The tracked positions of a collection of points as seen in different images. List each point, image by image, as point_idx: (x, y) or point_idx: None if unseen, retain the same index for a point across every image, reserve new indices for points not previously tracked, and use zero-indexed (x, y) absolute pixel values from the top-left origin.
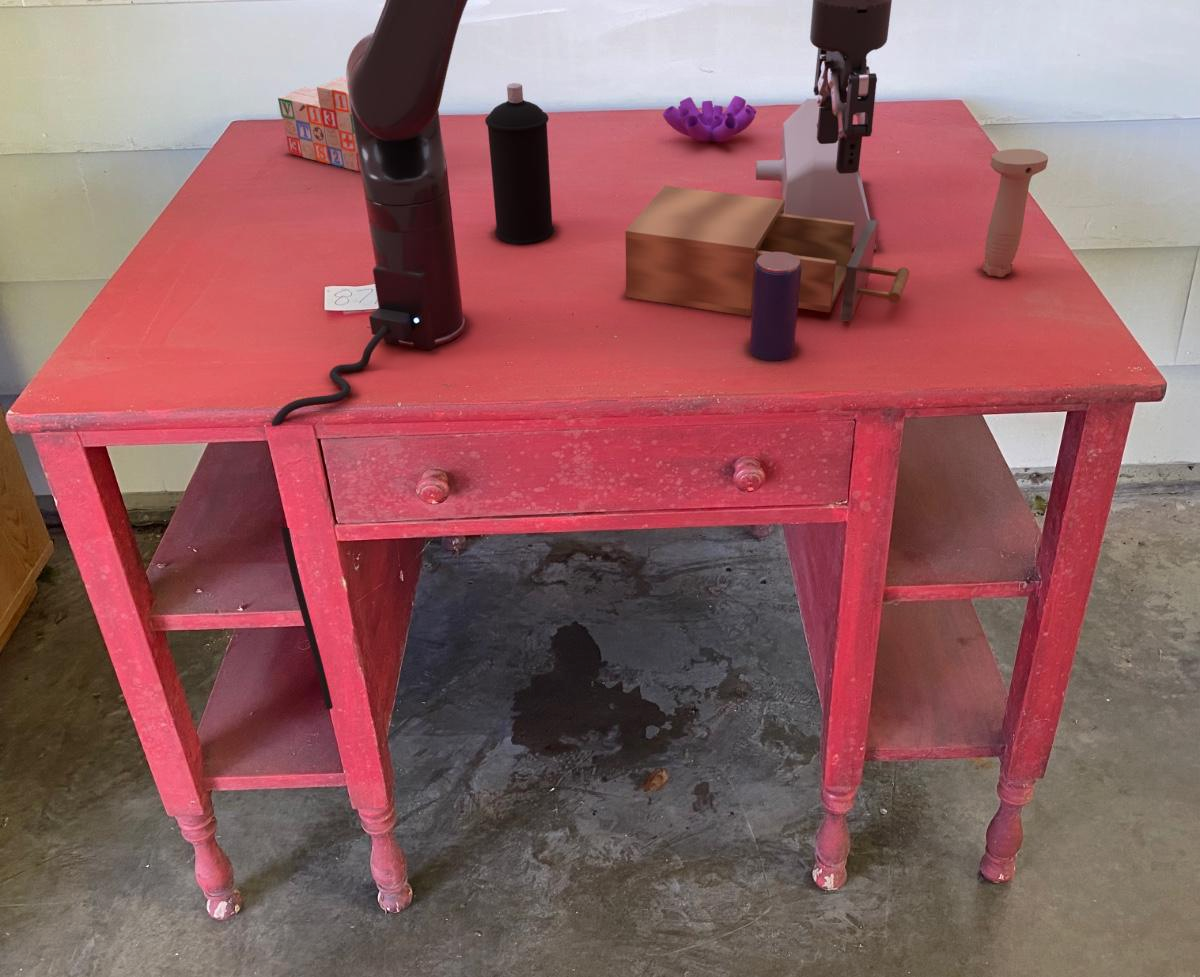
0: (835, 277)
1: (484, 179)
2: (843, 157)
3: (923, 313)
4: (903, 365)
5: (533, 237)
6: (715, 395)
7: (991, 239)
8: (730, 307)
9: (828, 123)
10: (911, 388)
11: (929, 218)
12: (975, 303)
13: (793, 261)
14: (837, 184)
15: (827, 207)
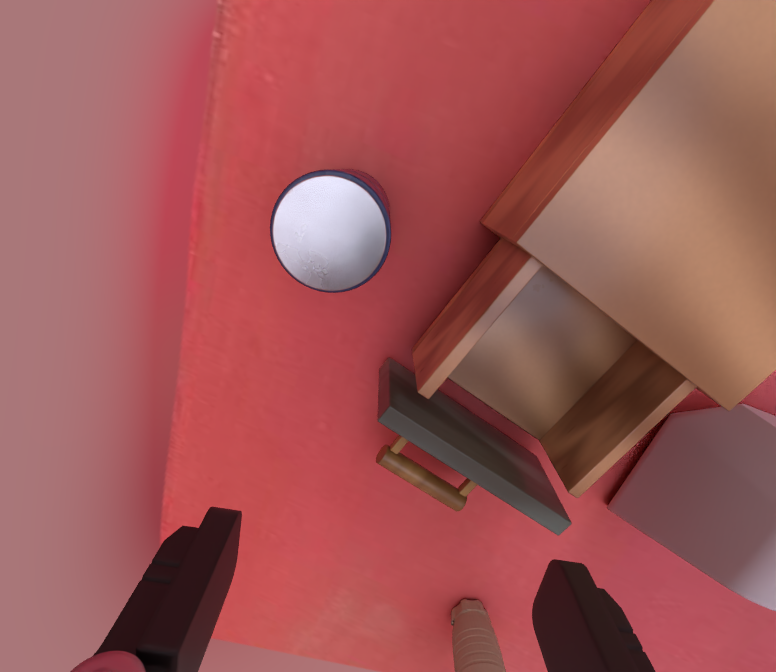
0: (510, 404)
1: None
2: (165, 570)
3: (391, 480)
4: (251, 390)
5: None
6: (217, 38)
7: (475, 649)
8: (508, 188)
9: (577, 665)
10: (184, 372)
11: (667, 611)
12: (396, 551)
13: (314, 270)
14: (724, 535)
15: (698, 486)
